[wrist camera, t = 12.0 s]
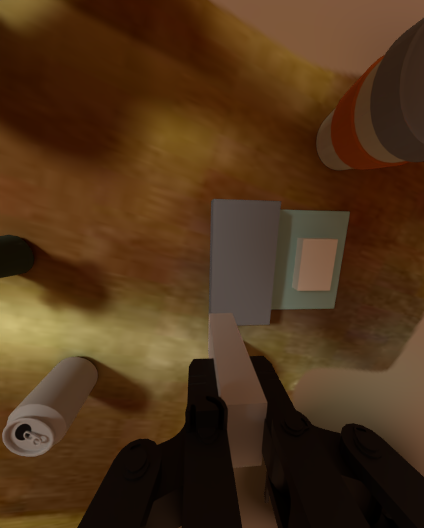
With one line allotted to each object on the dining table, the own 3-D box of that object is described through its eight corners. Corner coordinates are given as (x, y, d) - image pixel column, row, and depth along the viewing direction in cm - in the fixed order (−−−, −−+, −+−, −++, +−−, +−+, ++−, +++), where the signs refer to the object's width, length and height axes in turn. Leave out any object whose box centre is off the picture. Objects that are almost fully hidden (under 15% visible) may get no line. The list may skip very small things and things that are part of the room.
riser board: (211, 201, 33) (213, 199, 29) (271, 203, 34) (281, 201, 30) (208, 314, 37) (210, 325, 33) (261, 313, 38) (269, 324, 34)
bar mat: (270, 209, 34) (271, 209, 34) (348, 211, 35) (350, 211, 35) (262, 308, 38) (262, 309, 38) (333, 307, 39) (334, 308, 39)
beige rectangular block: (338, 239, 34) (330, 238, 36) (303, 238, 33) (297, 237, 35) (329, 290, 36) (322, 286, 38) (297, 290, 35) (291, 286, 37)
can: (67, 347, 36) (7, 408, 25) (106, 363, 38) (67, 428, 26) (51, 378, 37) (-14, 451, 26) (90, 393, 39) (44, 469, 27)
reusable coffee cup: (374, 181, 34) (506, 153, 20) (302, 183, 33) (386, 155, 19) (385, 95, 32) (548, -11, 17) (307, 95, 31) (410, -17, 16)
